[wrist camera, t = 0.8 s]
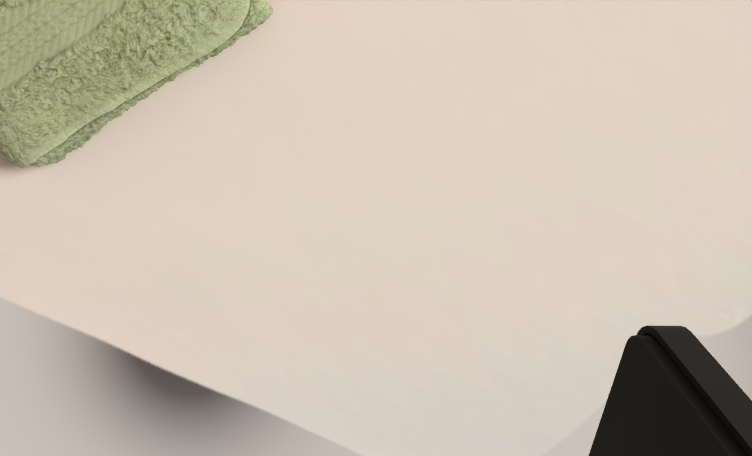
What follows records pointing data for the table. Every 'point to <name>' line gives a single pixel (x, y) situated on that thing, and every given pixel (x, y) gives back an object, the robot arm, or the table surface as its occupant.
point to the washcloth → (99, 62)
